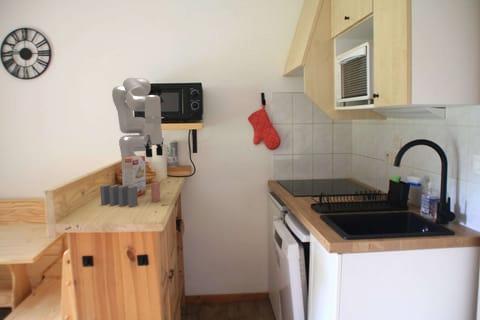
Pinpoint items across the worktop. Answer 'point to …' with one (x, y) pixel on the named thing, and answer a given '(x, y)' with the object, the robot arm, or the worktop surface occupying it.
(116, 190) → the domino
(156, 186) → the red domino
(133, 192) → the domino
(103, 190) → the domino
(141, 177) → the cracker box
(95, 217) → the worktop surface
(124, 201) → the domino
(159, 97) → the robot arm
